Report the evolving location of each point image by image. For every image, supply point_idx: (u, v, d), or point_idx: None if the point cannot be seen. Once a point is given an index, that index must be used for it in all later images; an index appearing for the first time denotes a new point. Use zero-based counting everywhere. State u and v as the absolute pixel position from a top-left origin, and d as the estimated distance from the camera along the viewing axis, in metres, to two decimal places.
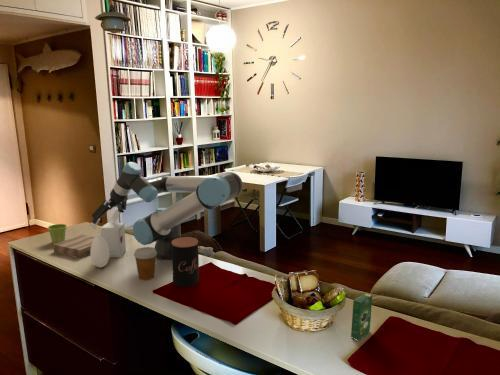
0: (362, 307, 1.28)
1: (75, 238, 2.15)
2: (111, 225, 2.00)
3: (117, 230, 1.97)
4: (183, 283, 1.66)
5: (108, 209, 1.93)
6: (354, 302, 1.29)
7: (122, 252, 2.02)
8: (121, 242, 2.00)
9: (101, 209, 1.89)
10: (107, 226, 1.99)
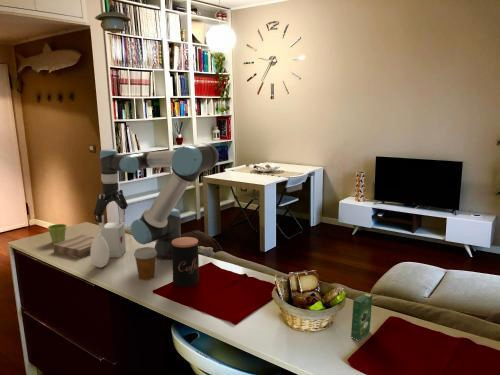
0: (362, 307, 1.28)
1: (75, 238, 2.15)
2: (111, 225, 2.00)
3: (117, 230, 1.97)
4: (183, 283, 1.66)
5: (107, 203, 1.95)
6: (354, 302, 1.29)
7: (122, 252, 2.02)
8: (121, 242, 2.00)
9: (99, 203, 1.91)
10: (107, 226, 1.99)
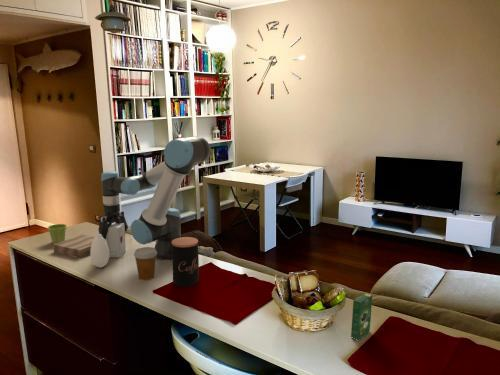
0: (362, 307, 1.28)
1: (75, 238, 2.15)
2: (111, 225, 2.00)
3: (116, 230, 1.97)
4: (183, 283, 1.66)
5: (109, 225, 1.97)
6: (354, 302, 1.29)
7: (122, 252, 2.02)
8: (121, 242, 2.00)
9: (101, 226, 1.94)
10: None
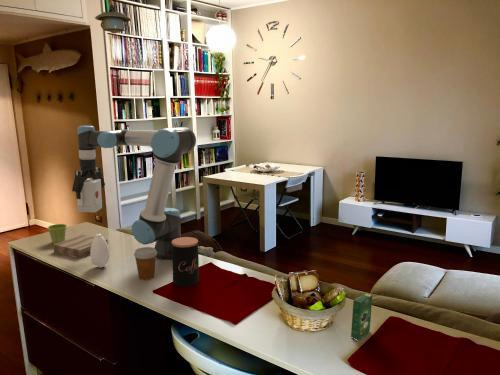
0: (362, 307, 1.28)
1: (75, 238, 2.15)
2: (87, 180, 2.00)
3: (92, 184, 1.97)
4: (183, 283, 1.66)
5: (84, 179, 1.97)
6: (354, 302, 1.29)
7: (98, 208, 2.02)
8: (96, 197, 2.00)
9: (76, 180, 1.94)
10: None
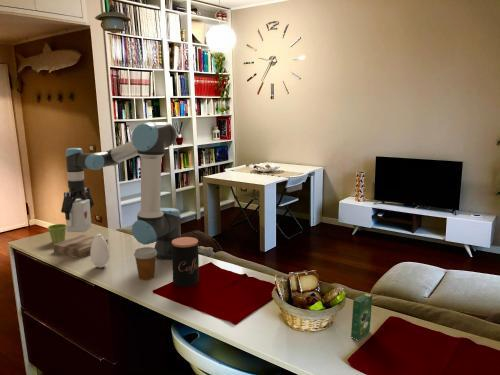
0: (362, 307, 1.28)
1: (75, 238, 2.15)
2: (76, 201, 2.05)
3: (80, 205, 2.01)
4: (183, 283, 1.66)
5: (73, 200, 2.02)
6: (354, 302, 1.29)
7: (87, 227, 2.07)
8: (85, 217, 2.05)
9: (65, 201, 1.98)
10: None
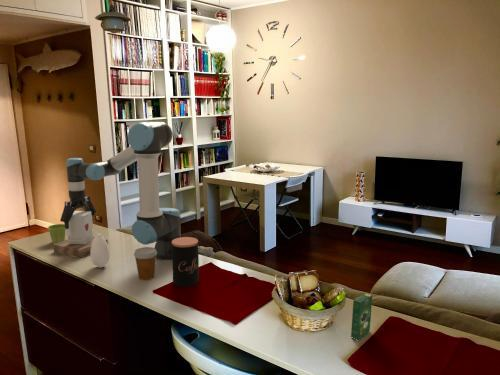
0: (362, 307, 1.28)
1: None
2: (77, 213, 2.06)
3: (81, 217, 2.03)
4: (183, 283, 1.66)
5: (73, 210, 2.02)
6: (354, 302, 1.29)
7: (88, 239, 2.08)
8: (86, 230, 2.06)
9: (65, 210, 1.99)
10: (73, 214, 2.05)
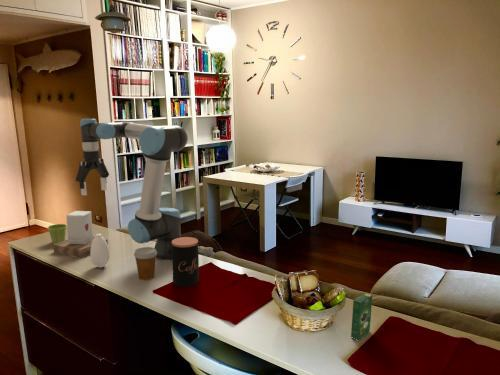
0: (362, 307, 1.28)
1: None
2: (77, 213, 2.06)
3: (81, 217, 2.03)
4: (183, 283, 1.66)
5: (88, 170, 2.03)
6: (354, 302, 1.29)
7: (88, 239, 2.08)
8: (86, 230, 2.06)
9: (81, 170, 1.99)
10: (73, 214, 2.05)
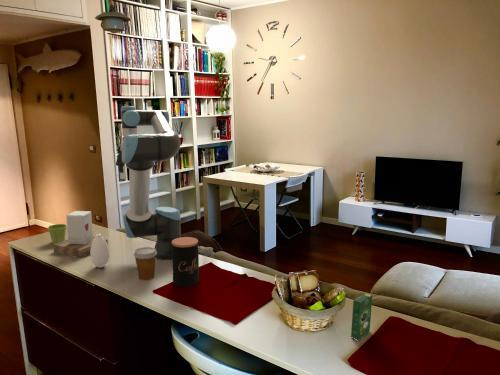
0: (362, 307, 1.28)
1: None
2: (77, 213, 2.06)
3: (81, 217, 2.03)
4: (183, 283, 1.66)
5: None
6: (354, 302, 1.29)
7: (88, 239, 2.08)
8: (86, 230, 2.06)
9: (120, 155, 2.09)
10: (73, 214, 2.05)
